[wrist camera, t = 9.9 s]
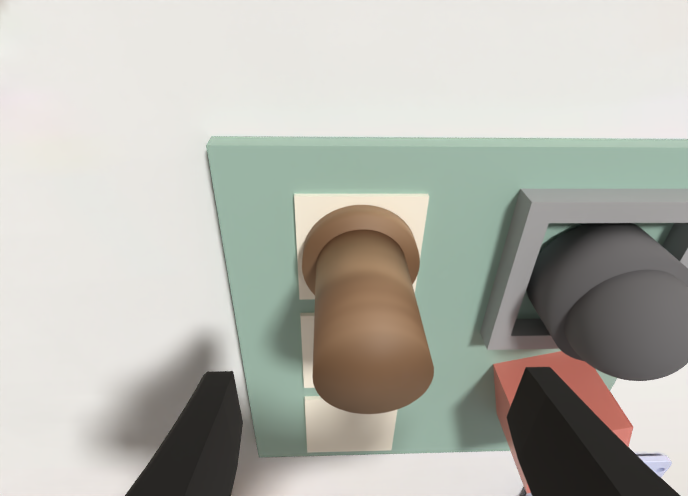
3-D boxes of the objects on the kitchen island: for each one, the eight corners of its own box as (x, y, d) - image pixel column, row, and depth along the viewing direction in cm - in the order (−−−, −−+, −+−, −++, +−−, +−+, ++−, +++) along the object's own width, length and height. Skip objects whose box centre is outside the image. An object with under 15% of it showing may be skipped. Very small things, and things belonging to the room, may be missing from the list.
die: (575, 399, 22) (625, 487, 18) (496, 413, 22) (529, 501, 19) (580, 347, 20) (638, 435, 16) (493, 364, 20) (530, 453, 16)
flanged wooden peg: (408, 297, 17) (439, 423, 13) (303, 297, 17) (295, 425, 12) (423, 205, 15) (467, 319, 10) (301, 203, 15) (290, 318, 10)
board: (569, 435, 25) (584, 466, 24) (260, 443, 24) (256, 475, 23) (733, 139, 15) (778, 159, 13) (211, 136, 14) (198, 157, 13)
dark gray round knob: (623, 316, 18) (703, 412, 14) (512, 318, 18) (563, 415, 14) (675, 219, 15) (789, 305, 12) (545, 219, 15) (619, 307, 11)
